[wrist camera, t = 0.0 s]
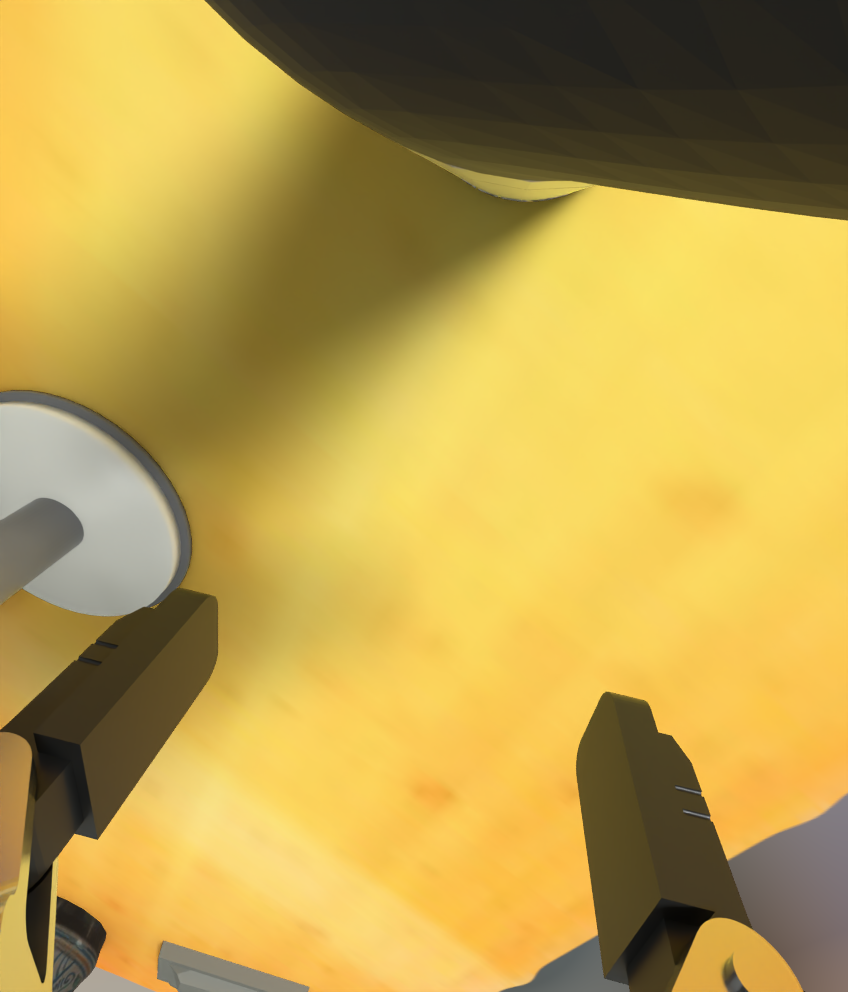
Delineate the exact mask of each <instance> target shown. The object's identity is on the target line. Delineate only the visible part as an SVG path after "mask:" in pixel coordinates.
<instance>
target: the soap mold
mask: <svg viewBox="0 0 848 992" xmlns="http://www.w3.org/2000/svg"><path fill="white" fill-rule="evenodd" d="M157 979H159V980H162V981H165V982H168V983H169V984H170V985H171V986H172V987H174V988H176V989H177V990H178V992H308V990H309V987H308V986H305V985H301V984H298V983H295V982H292V981H289V980H286V979H283V978H279V977H276V976H273V975H270V974H267V973H264V972H261V971H258V970H254V969H251V968H248V967H245V966H242V965H239V964H236V963H232V962H229V961H226V960H223V959H220V958H217V957H214V956H210V955H207V954H204V953H201V952H198V951H195V950H192V949H188V948H185V947H182V946H179V945H176V944H173V943H169V942H166V941H163V944H162V948H161V951H160V954H159V958H158V974H157Z"/></svg>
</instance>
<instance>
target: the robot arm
mask: <svg viewBox="0 0 848 992" xmlns="http://www.w3.org/2000/svg"><path fill="white" fill-rule="evenodd" d="M205 1H206V2H207V3H208V4H209V5H210V6H211V7H212V8H213V9H214V10H215V11H216V12H217V13H218V14H219V15H220V16H221V17H222V18H223V19H224V20H225V21H226V22H227V23H228V24H229V25H230V26H231V27H232V28H233V29H234V30H235V31H236V32H237V33H238V34H239V35H240V36H242V37H243V38H244V39H245V40H246V41H247V42H248V43H249V44H251V45H252V46H253V47H254V48H256V49H257V50H258V51H259V52H261V53H262V54H263V55H264V56H265V57H267V58H268V59H269V60H270V61H272V62H273V63H274V64H275V65H277V66H278V67H279V68H280V69H282V70H283V71H284V72H285V73H287V74H288V75H289V76H290V77H291V78H293V79H294V80H295V81H296V82H298V83H299V84H300V85H302V86H303V87H305V88H306V89H308V90H309V91H311V92H312V93H314V94H315V95H317V96H318V97H320V98H321V99H323V100H324V101H326V102H327V103H329V104H330V105H332V106H333V107H335V108H336V109H338V110H339V111H341V112H342V113H344V114H345V115H347V116H349V117H351V118H353V119H354V120H356V121H358V122H360V123H362V124H363V125H365V126H367V127H369V128H370V129H372V130H374V131H376V132H377V133H379V134H381V135H383V136H385V137H386V138H388V139H390V140H392V141H394V142H396V143H397V144H399V145H401V146H403V147H405V148H406V149H408V150H410V151H412V152H414V153H416V154H417V155H420V156H422V157H423V158H425V159H427V160H429V161H431V162H432V163H434V164H436V165H438V166H440V167H441V168H443V169H445V170H447V171H449V172H450V173H452V174H454V175H456V176H458V177H459V178H461V179H462V180H464V181H465V182H466V183H468V184H469V185H471V184H472V186H473V187H474V188H476V187H477V188H478V190H480V191H482V192H485V193H487V194H490V195H492V196H495V197H498V196H500V197H501V198H502V199H507V200H513V201H525V202H535V201H544V200H550V199H554V198H558V197H562V196H566V195H568V194H569V193H572V192H576V191H579V190H582V189H586V188H589V187H592V186H595V185H600V186H607V187H613V188H620V189H626V190H633V191H639V192H646V193H652V194H659V195H665V196H672V197H679V198H685V199H692V200H699V201H706V202H712V203H719V204H726V205H733V206H739V207H746V208H754V209H761V210H769V211H776V212H784V213H791V214H799V215H806V216H814V217H822V218H831V219H840V220H848V0H205ZM217 655H218V602H217V599H216V597H215V596H212V595H208V594H204V593H199V592H195V591H191V590H187V589H183V588H177V589H175V590H173V591H172V592H171V593H170V594H169V595H168V596H167V597H166V598H165V599H164V600H163V601H162V602H161V603H160V604H159V605H158V606H157V607H156V608H155V609H152V608H148V607H142V608H140V609H138V610H136V611H134V612H132V613H130V614H128V615H127V616H125V617H123V618H121V619H119V620H117V621H116V622H115V623H114V624H113V625H112V626H111V627H109V628H108V629H107V630H106V631H105V632H104V633H103V634H102V635H101V636H100V637H99V638H98V639H97V640H96V643H95V644H91V645H90V646H89V647H88V648H87V649H86V650H85V651H84V652H83V653H82V654H81V655H80V656H79V659H78V660H77V661H74V662H72V663H71V664H70V665H69V666H68V667H67V668H66V669H65V670H64V671H63V672H62V673H61V674H60V675H59V676H58V677H57V678H56V679H54V680H53V681H52V682H51V683H50V684H49V685H48V686H47V687H46V688H45V689H44V690H43V691H42V692H41V693H40V694H39V695H38V696H36V697H35V698H34V699H33V700H32V701H31V702H30V703H29V704H28V705H27V706H26V707H25V708H24V709H23V710H22V711H21V712H20V713H19V714H17V715H16V716H15V717H14V718H13V719H12V720H11V721H10V722H9V723H8V724H7V725H6V726H4V727H3V728H2V729H1V730H0V992H52V977H53V958H54V939H55V919H56V900H57V881H58V855H59V854H60V852H61V851H62V850H63V848H64V847H65V846H66V844H67V843H68V842H69V840H70V839H71V838H72V836H73V835H74V833H75V834H78V835H82V836H86V837H89V838H93V839H97V840H98V839H99V837H100V836H101V834H102V833H103V831H104V830H105V829H106V827H107V826H108V824H109V823H110V821H111V820H112V818H113V817H114V816H115V814H116V813H117V811H118V810H119V808H120V807H121V805H122V804H123V803H124V801H125V800H126V798H127V797H128V795H129V794H130V793H131V791H132V790H133V788H134V787H135V785H136V784H137V782H138V781H139V780H140V778H141V777H142V775H143V774H144V772H145V771H146V769H147V768H148V767H149V765H150V764H151V762H152V761H153V759H154V758H155V757H156V755H157V754H158V752H159V751H160V749H161V748H162V746H163V745H164V744H165V742H166V741H167V739H168V738H169V736H170V735H171V734H172V732H173V731H174V729H175V728H176V726H177V725H178V723H179V722H180V721H181V719H182V718H183V716H184V715H185V713H186V712H187V710H188V709H189V708H190V706H191V705H192V703H193V702H194V700H195V699H196V698H197V696H198V695H199V693H200V692H201V690H202V689H203V687H204V686H205V685H206V683H207V682H208V680H209V678H210V676H211V674H212V672H213V669H214V667H215V664H216V660H217ZM576 775H577V783H578V790H579V797H580V805H581V812H582V819H583V827H584V834H585V841H586V849H587V856H588V863H589V871H590V878H591V885H592V893H593V900H594V907H595V915H596V922H597V929H598V937H599V943H600V951H601V959H602V965H603V973H604V978H605V979H608V980H612V981H616V982H619V983H623V984H627V985H629V989H630V992H805V991H804V990H802V988H801V986H800V984H799V982H798V980H797V978H796V977H795V975H794V973H793V972H792V970H791V969H790V967H789V966H788V965H787V963H786V962H785V960H784V959H783V958H782V957H781V956H780V954H779V953H778V952H777V951H776V950H775V949H774V948H773V947H772V946H771V945H770V944H769V943H768V942H767V941H766V940H765V939H764V938H762V937H761V936H760V935H759V934H758V933H756V932H755V931H754V930H753V928H752V926H751V924H750V921H749V919H748V917H747V914H746V911H745V909H744V906H743V903H742V900H741V898H740V895H739V892H738V890H737V887H736V884H735V881H734V878H733V876H732V873H731V870H730V867H729V865H728V862H727V859H726V856H725V854H724V851H723V848H722V845H721V843H720V840H719V837H718V835H717V832H716V829H715V826H714V824H713V822H711V821H710V816H711V815H710V813H709V810H708V807H707V804H706V802H705V799H704V797H702V796H701V792H702V791H701V788H700V785H699V782H698V780H697V777H696V774H695V772H694V769H693V766H692V763H691V762H690V760H689V759H688V758H687V756H686V755H685V753H684V752H683V751H682V749H681V748H680V747H679V745H678V744H677V743H676V741H675V740H674V739H673V737H672V736H670V735H666V734H662V733H658V730H657V727H656V724H655V721H654V718H653V715H652V712H651V709H650V706H649V704H648V703H647V702H646V701H644V700H641V699H636V698H632V697H628V696H624V695H620V694H616V693H611V692H605V693H604V694H603V695H602V696H601V698H600V700H599V702H598V705H597V707H596V709H595V711H594V713H593V715H592V718H591V720H590V722H589V724H588V726H587V728H586V731H585V733H584V735H583V737H582V739H581V742H580V744H579V748H578V753H577V761H576Z"/></svg>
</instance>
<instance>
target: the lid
mask: <svg viewBox="0 0 848 992" xmlns="http://www.w3.org/2000/svg"><path fill="white" fill-rule="evenodd" d="M180 556H181V541H180V535H179V529H178V525H177V522H176V519H175V516H174V513H173V511H172V509H171V506H170V504H169V502H168V500H167V498H166V496H165V495H164V493H163V491H162V490H161V488H160V486H159V485H158V483H157V482H156V481H155V479H154V478H153V477H152V475H151V474H150V472H149V471H148V470H147V469H146V468H145V467H144V466H143V465H142V463H141V462H140V461H139V460H138V459H137V458H136V457H135V456H134V455H133V454H132V453H131V452H130V451H129V450H128V449H126V448H125V447H124V446H123V445H122V444H121V443H119V442H118V441H117V440H116V439H114V438H113V437H112V436H110V435H109V434H108V433H106V432H105V431H103V430H102V429H100V428H98V427H97V426H95V425H94V424H92V423H90V422H88V421H86V420H85V419H83V418H81V417H79V416H77V415H74V414H72V413H70V412H67V411H65V410H62V409H60V408H56V407H53V406H49V405H45V404H41V403H35V402H28V401H8V402H0V605H1V604H2V603H4V602H5V601H6V600H7V599H9V598H10V597H11V596H13V595H14V594H15V593H17V592H18V591H19V590H20V589H24V590H26V591H27V592H29V593H31V594H33V595H34V596H36V597H38V598H40V599H42V600H44V601H47V602H49V603H51V604H53V605H56V606H59V607H61V608H64V609H67V610H71V611H74V612H77V613H82V614H88V615H95V616H119V615H126V614H130V613H132V612H134V611H136V610H138V609H140V608H142V607H147V606H148V605H150V604H151V603H152V602H154V601H155V600H156V599H157V598H158V597H159V595H160V594H161V593H162V592H163V591H164V590H165V589H166V588H167V587H168V586H169V584H170V583H171V582H172V580H173V578H174V577H175V575H176V572H177V569H178V566H179V562H180Z"/></svg>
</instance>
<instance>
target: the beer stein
mask: <svg viewBox="0 0 848 992" xmlns="http://www.w3.org/2000/svg"><path fill="white" fill-rule="evenodd" d="M105 938H106V931H105V930H104V928H103V926H102V925H101V923H100V922H99V921H98V920H96V919H95V918H94V917H92V916H91V915H90V914H89V913H87V912H86V911H85V910H83V909H82V908H80V907H78V906H76V905H74V904H73V903H71V902H69V901H67V900H65V899H63V898H60V897H57V900H56V919H55V939H54V958H53V977H52V992H73V991H74V990H75V989H76V988H77V987H78V986H79V984H80V983H81V982H82V981H83V980H84V979H85V978H86V977H88V975H90V973H91V972H92V971H93V969H94V968H95V966H96V963H97V960H98V957H99V953H100V950H101V948H102V946H103V944H104V942H105Z"/></svg>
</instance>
